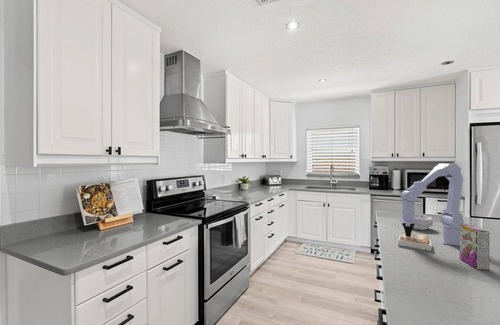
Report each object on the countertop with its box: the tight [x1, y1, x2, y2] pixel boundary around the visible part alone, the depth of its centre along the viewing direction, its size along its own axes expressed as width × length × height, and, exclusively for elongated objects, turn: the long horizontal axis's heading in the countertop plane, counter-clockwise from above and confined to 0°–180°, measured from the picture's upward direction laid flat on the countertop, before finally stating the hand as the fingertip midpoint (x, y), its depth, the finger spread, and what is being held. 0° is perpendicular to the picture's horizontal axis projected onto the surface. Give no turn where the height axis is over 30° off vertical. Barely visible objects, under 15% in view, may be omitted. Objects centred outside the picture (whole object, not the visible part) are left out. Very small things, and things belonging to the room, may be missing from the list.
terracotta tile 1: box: [416, 239, 428, 245], centre depth 129 cm, size 5×5×2 cm
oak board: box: [400, 231, 430, 243], centre depth 138 cm, size 13×11×2 cm
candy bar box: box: [459, 223, 490, 271], centre depth 105 cm, size 11×5×16 cm, turn 168°
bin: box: [397, 234, 433, 252], centre depth 129 cm, size 14×12×3 cm
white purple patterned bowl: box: [413, 214, 434, 231], centre depth 163 cm, size 15×15×8 cm
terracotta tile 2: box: [403, 237, 414, 242], centre depth 132 cm, size 5×5×2 cm
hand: (408, 236), depth 135 cm, fingers closed
